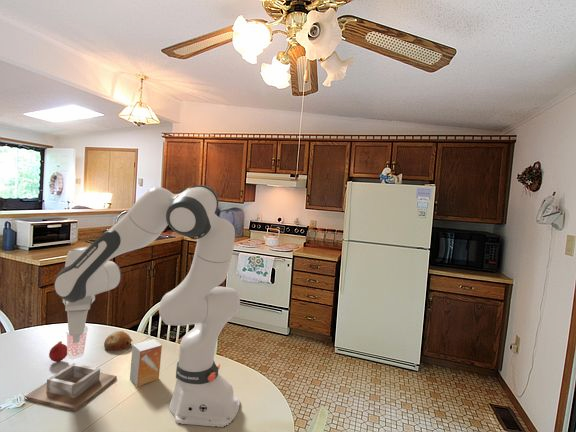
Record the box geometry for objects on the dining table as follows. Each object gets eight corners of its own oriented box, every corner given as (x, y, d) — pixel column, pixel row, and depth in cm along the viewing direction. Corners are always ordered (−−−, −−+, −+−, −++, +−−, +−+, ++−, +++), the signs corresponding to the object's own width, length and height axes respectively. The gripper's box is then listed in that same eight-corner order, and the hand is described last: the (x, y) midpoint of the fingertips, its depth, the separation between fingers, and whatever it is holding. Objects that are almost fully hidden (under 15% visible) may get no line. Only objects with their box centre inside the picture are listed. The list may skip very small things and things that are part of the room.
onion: (57, 367, 117) (58, 346, 117) (44, 364, 118) (45, 343, 118) (71, 360, 123) (72, 339, 123) (58, 356, 124) (59, 336, 124)
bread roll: (118, 347, 142) (112, 330, 142) (138, 341, 141) (132, 324, 141) (102, 358, 133) (96, 340, 133) (124, 352, 131) (117, 333, 131)
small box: (136, 387, 111) (139, 351, 110) (129, 379, 115) (132, 344, 114) (159, 379, 117) (162, 344, 116) (151, 371, 121) (154, 338, 120)
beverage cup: (67, 362, 102) (70, 319, 101) (61, 354, 106) (64, 313, 105) (89, 356, 107) (92, 315, 106) (82, 348, 111) (85, 309, 110)
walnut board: (116, 378, 115) (117, 365, 114) (75, 411, 97) (76, 395, 97) (72, 369, 118) (73, 355, 117) (24, 399, 100) (25, 383, 99)
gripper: (70, 286, 112) (67, 324, 113) (65, 308, 95) (62, 353, 96) (91, 285, 115) (88, 322, 116) (90, 306, 98) (87, 349, 99)
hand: (76, 336), depth 106 cm, fingers closed on beverage cup, 6 cm apart
